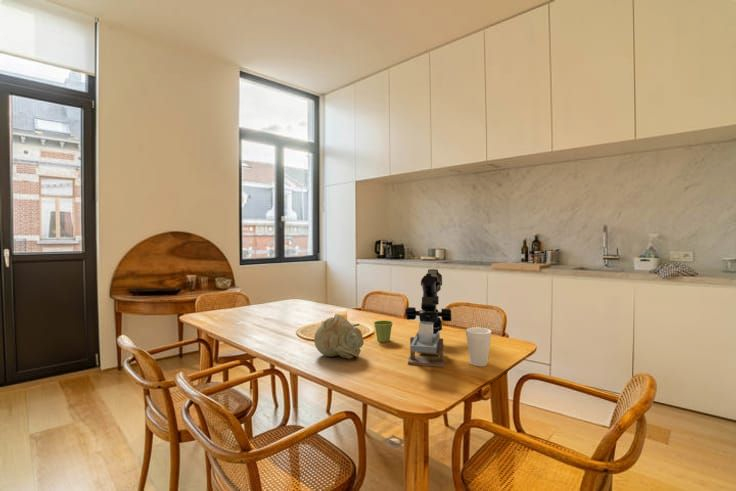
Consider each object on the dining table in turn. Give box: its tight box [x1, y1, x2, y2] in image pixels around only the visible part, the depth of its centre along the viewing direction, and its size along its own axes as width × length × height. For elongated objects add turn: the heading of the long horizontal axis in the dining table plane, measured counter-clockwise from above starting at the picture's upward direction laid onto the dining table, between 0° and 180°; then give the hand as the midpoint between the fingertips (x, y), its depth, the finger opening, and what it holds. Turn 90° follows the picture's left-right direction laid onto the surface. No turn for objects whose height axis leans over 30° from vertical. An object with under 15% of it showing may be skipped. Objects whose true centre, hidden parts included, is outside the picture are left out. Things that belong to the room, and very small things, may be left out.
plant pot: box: [373, 320, 394, 343], centre depth 176 cm, size 9×9×9 cm
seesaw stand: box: [407, 336, 446, 368], centre depth 145 cm, size 8×14×10 cm, turn 76°
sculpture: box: [313, 313, 365, 360], centre depth 154 cm, size 18×20×20 cm
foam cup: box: [465, 326, 492, 367], centre depth 143 cm, size 10×9×13 cm
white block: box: [418, 320, 433, 343], centre depth 143 cm, size 6×5×7 cm
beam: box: [409, 330, 441, 355], centre depth 143 cm, size 28×9×8 cm, turn 166°
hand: (427, 331), depth 149 cm, fingers closed
